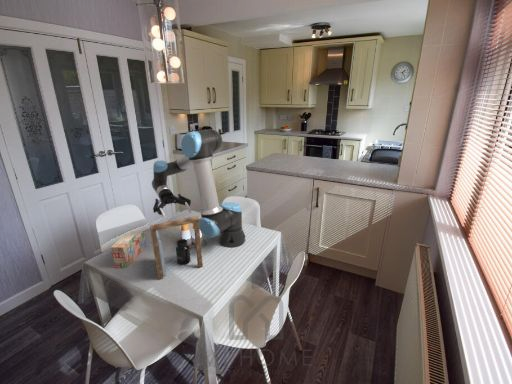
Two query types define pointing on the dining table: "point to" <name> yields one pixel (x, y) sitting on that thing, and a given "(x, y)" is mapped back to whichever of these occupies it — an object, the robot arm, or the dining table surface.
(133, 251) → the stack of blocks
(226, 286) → the dining table surface
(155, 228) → the door frame
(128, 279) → the dining table surface
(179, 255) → the supplement bottle
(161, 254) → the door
